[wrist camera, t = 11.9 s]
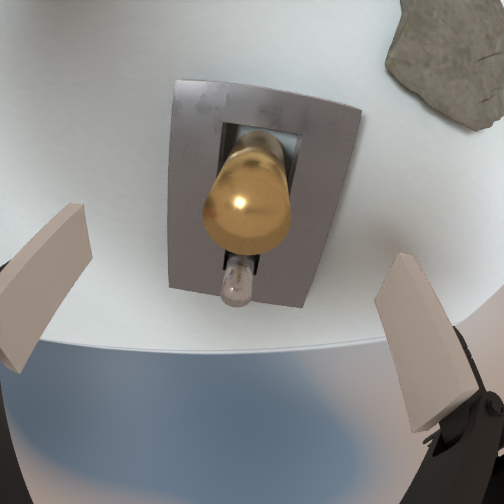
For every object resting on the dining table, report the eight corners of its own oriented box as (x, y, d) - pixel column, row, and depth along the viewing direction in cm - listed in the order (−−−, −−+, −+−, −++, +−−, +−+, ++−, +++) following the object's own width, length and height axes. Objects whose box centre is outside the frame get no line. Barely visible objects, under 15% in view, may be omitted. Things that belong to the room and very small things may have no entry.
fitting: (235, 127, 23) (206, 170, 13) (287, 135, 23) (299, 185, 13) (229, 174, 26) (200, 248, 16) (278, 182, 26) (281, 261, 16)
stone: (519, -2, 8) (548, 134, 15) (491, 4, 13) (518, 126, 19) (371, -46, 10) (424, 141, 17) (351, -23, 14) (394, 133, 21)
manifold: (185, 79, 21) (149, 82, 14) (351, 106, 21) (385, 120, 15) (176, 269, 32) (154, 322, 25) (300, 289, 32) (305, 345, 26)
